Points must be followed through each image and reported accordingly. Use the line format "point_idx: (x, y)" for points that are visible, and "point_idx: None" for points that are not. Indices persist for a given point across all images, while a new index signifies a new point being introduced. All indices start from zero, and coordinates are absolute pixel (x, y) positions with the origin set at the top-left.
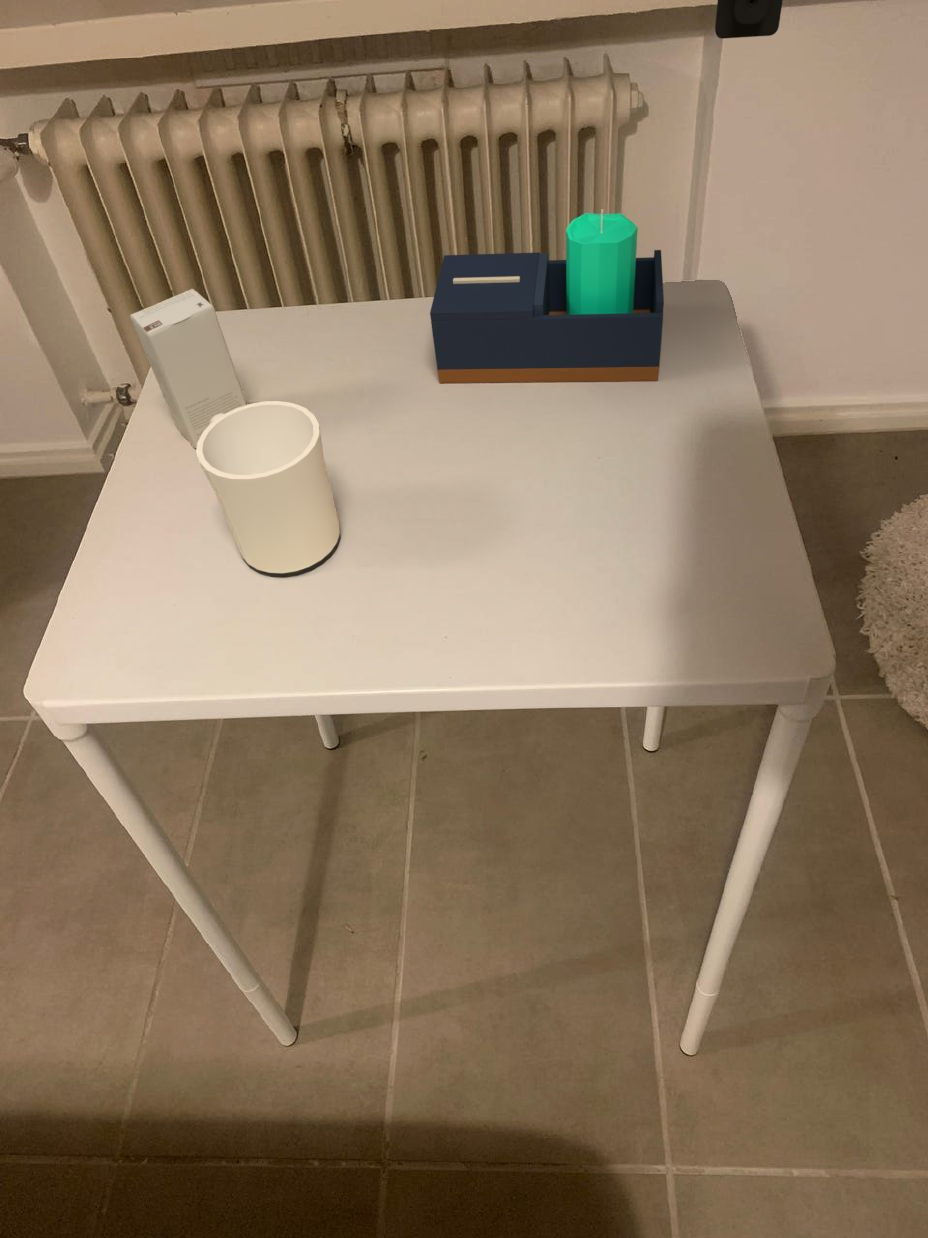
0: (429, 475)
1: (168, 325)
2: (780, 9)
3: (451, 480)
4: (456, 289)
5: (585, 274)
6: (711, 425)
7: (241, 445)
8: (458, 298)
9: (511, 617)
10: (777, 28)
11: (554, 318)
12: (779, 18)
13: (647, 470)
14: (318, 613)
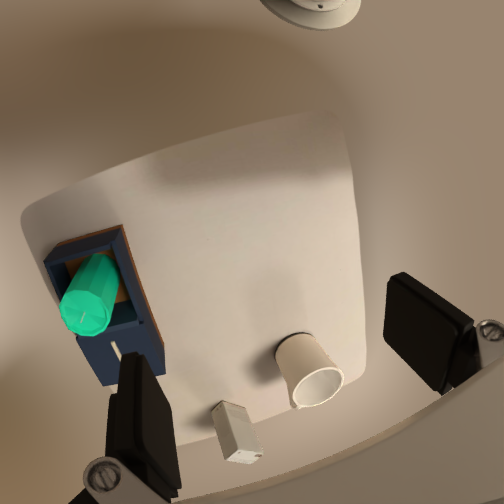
0: (241, 318)
1: (256, 452)
2: (419, 282)
3: (243, 307)
4: None
5: (112, 306)
6: (160, 180)
7: (298, 392)
8: None
9: (328, 247)
10: (403, 272)
11: (138, 308)
12: (412, 277)
13: (213, 209)
14: (331, 320)
